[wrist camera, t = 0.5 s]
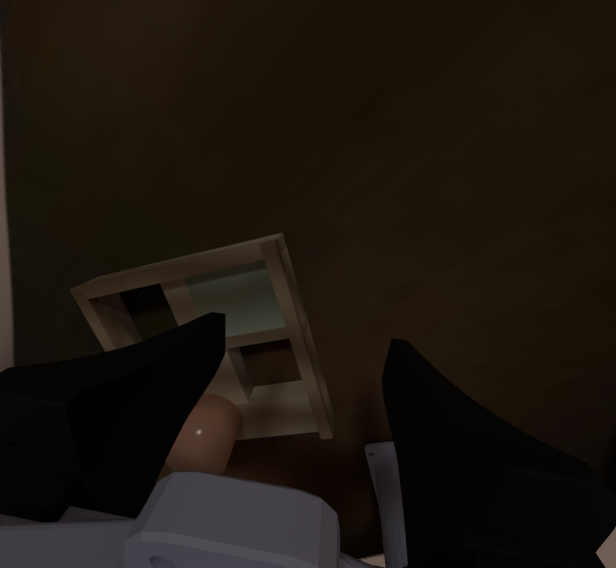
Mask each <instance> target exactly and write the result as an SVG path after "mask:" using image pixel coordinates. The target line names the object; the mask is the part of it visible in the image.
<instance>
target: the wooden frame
mask: <svg viewBox="0 0 616 568" xmlns="http://www.w3.org/2000/svg"><path fill="white" fill-rule="evenodd" d="M158 283H160V286H161V288H162V290H163V292H164V294H165V296H166V299H167V301H168V303H169V305H170V307H171V310H172V312H173V314H174V316H175V318H176V321H177V323H178V325H179V326H181V325H183V324H185V323H187V322H190V321H192V320H194V319H196V318H198V317H200V316H203V315H205V314H207V313H210V312H217V313H223V314H226V353H225V356H224V358H223V360H222V362H221V364H220V367H219V369H218V371H217V373H216V374H215V376H214V378H213V379H212V381H211V382H210V384H209V385H208V387H207V389H206V390H205V392H204V393H203V394H215V395H219V396H222V397H224V398H227V399H228V400H230V401H231V402H233V403H234V404H235V405H236V406H237V407H238V409H239V410H240V412H241V415H242V419H243V422H242V426H241V429H240V431H239V434H238V437H237V439H236V440H243V439H253V438H262V437H272V436H282V435H292V434H301V433H311V432H319V434H320V437H321V439H330V438H333V419H334V411H333V408H332V404H331V401H330V397H329V394H328V390H327V387H326V383H325V380H324V376H323V373H322V369H321V366H320V362H319V359H318V355H317V352H316V348H315V345H314V341H313V338H312V334H311V331H310V327H309V324H308V320H307V317H306V313H305V310H304V306H303V303H302V299H301V296H300V292H299V288H298V285H297V281H296V278H295V274H294V271H293V267H292V264H291V260H290V257H289V253H288V250H287V246H286V243H285V239H284V236H283V233H279V234H275V235H271V236H267V237H263V238H258V239H254V240H250V241H246V242H242V243H237V244H233V245H229V246H225V247H221V248H217V249H212V250H208V251H204V252H200V253H196V254H191V255H187V256H183V257H179V258H175V259H171V260H166V261H162V262H158V263H154V264H150V265H145V266H141V267H137V268H133V269H129V270H125V271H120V272H116V273H112V274H108V275H104V276H99V277H97V278H95V279H93V280H90V281H88V282H86V283H84V284H81V285H79V286H77V287H75V288H72V289H70V291H71V293H72V294H73V296H74V298H75V300H76V301H77V303H78V305H79V307H80V308H81V310H82V312H83V314H84V315H85V317H86V319H87V321H88V322H89V324H90V326H91V327H92V329H93V331H94V333H95V334H96V336H97V338H98V340H99V341H100V343H101V345H102V347H103V348H104V350H105V352H107V351H111V350H115V349H119V348H122V347H126V346H129V345H132V344H135V343H138V342H141V341H143V339H142V337H141V335H140V333H139V331H138V329H137V327H136V325H135V323H134V321H133V320H132V318H131V316H130V314H129V312H128V310H127V308H126V306H125V304H124V302H123V300H122V298H121V296H120V294H119V292H122V291H127V290H131V289H136V288H140V287H145V286H149V285H154V284H158ZM288 338H289V339H290V342H291V345H292V349H293V352H294V355H295V358H296V361H297V364H298V368H299V371H300V374H301V377H302V380H299V381H292V382H285V383H277V384H270V385H263V386H256V387H254V384H253V382H252V379H251V376H250V374H249V371H248V369H247V366H246V364H245V361H244V358H243V356H242V353H241V351H240V348H239V347H240V346H246V345H252V344H258V343H264V342H270V341H276V340H282V339H288Z"/></svg>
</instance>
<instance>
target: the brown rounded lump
mask: <svg viewBox="0 0 616 568" xmlns="http://www.w3.org/2000/svg"><path fill="white" fill-rule="evenodd" d="M242 422H243V419H242V415H241V412H240V410H239V409H238V407H237V406H236V405H235V404H234V403H233V402H231V401H230V400H228V399H227V398H224V397H222V396H219V395H215V394H203V395H202V396H201V398H200V399H199V401H198V402H197V404H196V406H195V407H194V409H193V410H192V412H191V413H190V415H189V417H188V418H187V420H186V422H185V423H184V425H183V427H182V429H181V431H180V433H179V435H178V437H177V439H176V441H175V443H174V445H173V447H172V449H171V451H170V453H169V455H168V457H167V459H166V463H167V464H168V465H169V467H170V468H171V469H173V470H174V471H175V472H177V471H203V472H208V473H214V474H219V475H221V474H222V473H223V472H224V470H225V468H226V465H227V462H228V460H229V457H230V455H231V452H232V450H233V447H234V444H235V442H236V439H237V437H238V434H239V431H240V429H241V426H242Z"/></svg>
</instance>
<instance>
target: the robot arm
mask: <svg viewBox="0 0 616 568" xmlns="http://www.w3.org/2000/svg"><path fill="white" fill-rule="evenodd" d="M225 353H226V314H223V313H217V312H210V313H207V314H205V315H203V316H200V317H198V318H196V319H194V320H192V321H190V322H187V323H185V324H183V325H181V326H179V327H176V328H174V329H172V330H169V331H167V332H165V333H162V334H160V335H157V336H155V337H152V338H150V339H147V340H144V341H141V342H138V343H135V344H132V345H129V346H126V347H122V348H119V349H115V350H111V351H107V352H103V353H99V354H95V355H91V356H86V357H81V358H76V359H70V360H65V361H59V362H52V363H45V364H36V365H28V366H20V367H10V368H7V369H5V370H4V371H2V372H0V568H384V567H379V566H374V565H370V564H368V563H365V562H363V561H361V560H358V559H356V558H354V557H351V556H349V555H347V554H344V553H342V552H340V527H339V521H338V516H337V513H336V512H335V511H334V510H333V509H332V508H331V507H330V506H329V505H328V504H327V503H326V502H325V501H324V500H322V499H321V498H320V497H319V496H316V495H314V494H311V493H308V492H306V491H303V490H300V489H296V488H291V487H285V486H280V485H274V484H269V483H263V482H258V481H252V480H247V479H241V478H236V477H230V476H225V475H219V474H214V473H208V472H203V471H177V472H174V473H172V474H170V475H169V476H167V477H165V478H163V479H161V480H160V481H159V482H158V484H157V485H156V487H155V489H154V491H153V492H152V494H151V491H152V489H153V487H154V485H155V482H156V480H157V478H158V476H159V474H160V472H161V469H162V467H163V465H164V463H165V461H166V459H167V457H168V455H169V453H170V451H171V449H172V447H173V445H174V443H175V441H176V439H177V437H178V435H179V433H180V431H181V429H182V427H183V425H184V423H185V422H186V420H187V418H188V417H189V415H190V413H191V412H192V410H193V409H194V407H195V406H196V404H197V402H198V401H199V399H200V398H201V396H202V395H203V393H204V392H205V390H206V389H207V387H208V385H209V384H210V382H211V381H212V379H213V378H214V376H215V374H216V373H217V371H218V369H219V367H220V364H221V362H222V360H223V358H224V356H225ZM382 385H383V396H384V403H385V407H386V412H387V416H388V421H389V425H390V429H391V434H392V438H393V441H392V442H381V443H370V444H366V445H365V453H366V457H367V461H368V465H369V469H370V473H371V477H372V481H373V485H374V489H375V493H376V497H377V501H378V505H379V512H380V521H381V530H382V539H383V548H384V556H385V565H386V568H605V567H604V565H603V563H602V562H601V560H600V559H599V557H598V556H597V554H596V553H595V552H596V551H597V550H598V549H599V547H600V546H601V545H602V544H603V542H604V541H605V540H606V539H607V538H608V536H609V535H610V534H611V533H612V531H613V530H614V528H615V527H616V497H615V495H614V494H613V493H612V492H611V491H610V489H609V488H608V487H607V486H606V485H605V483H604V482H603V481H602V480H601V479H600V478H599V476H598V475H597V474H596V473H595V472H594V470H593V469H592V468H591V467H590V466H589V464H587V463H585V462H583V461H581V460H579V459H577V458H575V457H573V456H571V455H568V454H566V453H564V452H562V451H560V450H558V449H556V448H554V447H552V446H550V445H547V444H545V443H544V442H542V441H540V440H538V439H536V438H534V437H532V436H531V435H529V434H527V433H525V432H523V431H521V430H520V429H518V428H516V427H514V426H513V425H511V424H509V423H508V422H506V421H504V420H503V419H501V418H500V417H498V416H496V415H495V414H493V413H492V412H490V411H489V410H487V409H486V408H484V407H483V406H481V405H480V404H478V403H477V402H476V401H474V400H473V399H472V398H470V397H469V396H467V395H466V394H465V393H463V392H462V391H461V390H460V389H458V388H457V387H456V386H455V385H454V384H452V383H451V382H450V381H449V380H448V379H447V378H445V377H444V376H443V375H442V374H441V373H440V372H439V371H438V370H437V369H435V368H434V367H433V366H432V365H431V364H430V363H429V362H428V361H427V360H426V359H425V358H424V357H423V356H422V355H421V354H420V353H419V352H418V351H417V350H416V349H415V348H414V347H413V346H412V345H411V344H410V343H409V342H408V341H406V340H400V339H393V338H392V339H391V343H390V347H389V351H388V355H387V359H386V363H385V367H384V371H383V375H382ZM150 494H151V496H150ZM149 496H150V497H149ZM148 498H149V499H148ZM147 500H148V501H147Z"/></svg>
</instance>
